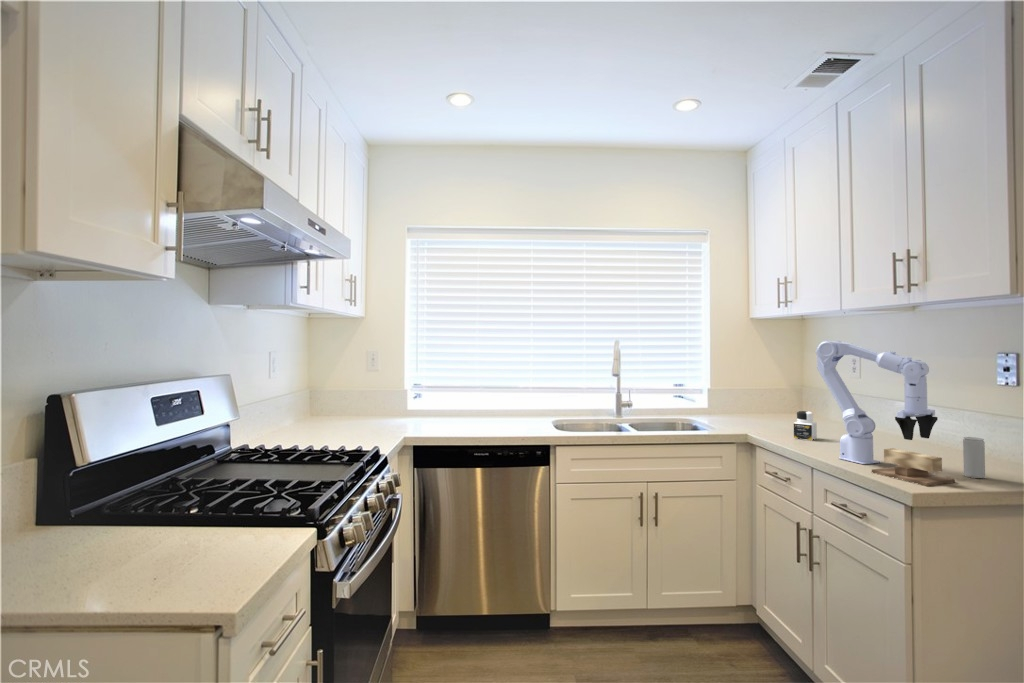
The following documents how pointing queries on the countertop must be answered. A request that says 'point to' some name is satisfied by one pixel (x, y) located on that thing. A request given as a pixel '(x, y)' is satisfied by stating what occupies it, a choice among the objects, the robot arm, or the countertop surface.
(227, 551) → the countertop surface
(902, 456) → the beam
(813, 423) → the medicine bottle
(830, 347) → the robot arm
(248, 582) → the countertop surface
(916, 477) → the fulcrum
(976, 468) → the beverage can
